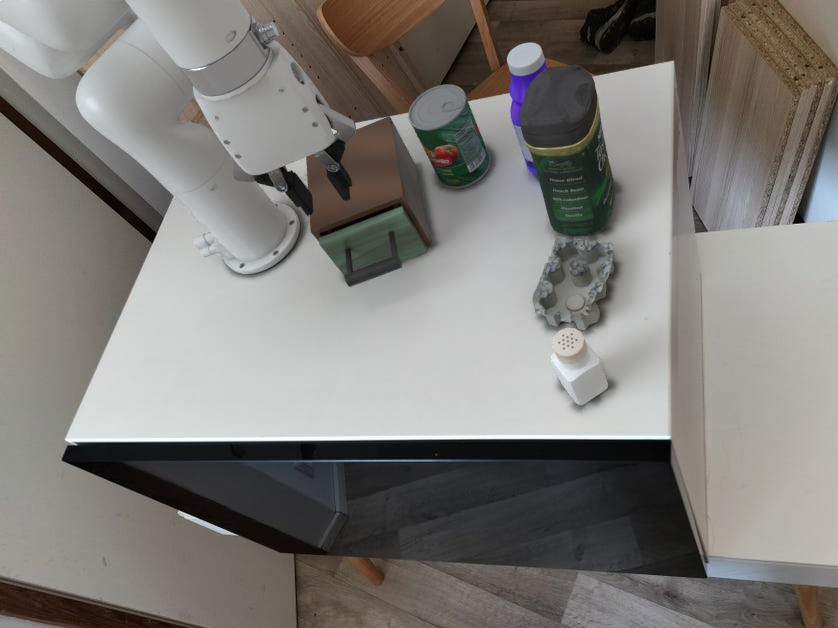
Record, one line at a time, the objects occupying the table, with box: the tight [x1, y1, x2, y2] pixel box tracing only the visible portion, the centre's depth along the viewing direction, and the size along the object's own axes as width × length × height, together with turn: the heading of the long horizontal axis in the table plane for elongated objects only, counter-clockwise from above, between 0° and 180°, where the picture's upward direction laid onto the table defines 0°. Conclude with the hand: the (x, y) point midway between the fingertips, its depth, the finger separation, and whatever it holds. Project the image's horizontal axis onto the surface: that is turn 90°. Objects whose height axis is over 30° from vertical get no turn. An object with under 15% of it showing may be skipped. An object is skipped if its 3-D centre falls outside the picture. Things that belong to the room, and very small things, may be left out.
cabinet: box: [305, 115, 433, 248], centre depth 91 cm, size 16×13×10 cm
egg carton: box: [532, 235, 615, 331], centre depth 77 cm, size 11×8×4 cm
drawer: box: [318, 203, 428, 288], centre depth 88 cm, size 20×11×8 cm, turn 11°
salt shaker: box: [550, 327, 609, 406], centre depth 69 cm, size 4×4×10 cm
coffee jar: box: [519, 64, 616, 237], centre depth 77 cm, size 10×8×19 cm
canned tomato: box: [407, 84, 492, 190], centre depth 91 cm, size 8×8×11 cm
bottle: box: [506, 42, 549, 177], centre depth 83 cm, size 7×6×17 cm
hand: (327, 197), depth 74 cm, fingers open, 3 cm apart
